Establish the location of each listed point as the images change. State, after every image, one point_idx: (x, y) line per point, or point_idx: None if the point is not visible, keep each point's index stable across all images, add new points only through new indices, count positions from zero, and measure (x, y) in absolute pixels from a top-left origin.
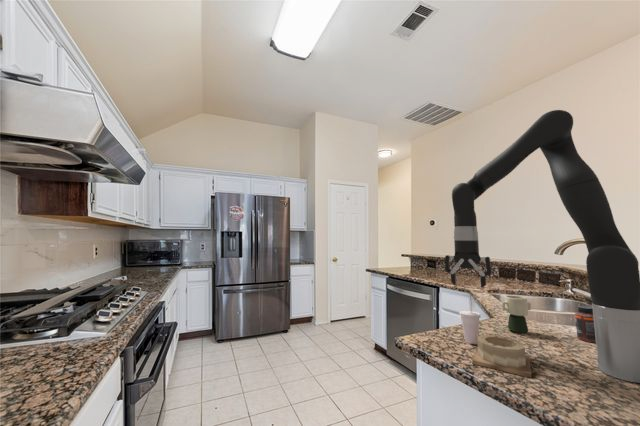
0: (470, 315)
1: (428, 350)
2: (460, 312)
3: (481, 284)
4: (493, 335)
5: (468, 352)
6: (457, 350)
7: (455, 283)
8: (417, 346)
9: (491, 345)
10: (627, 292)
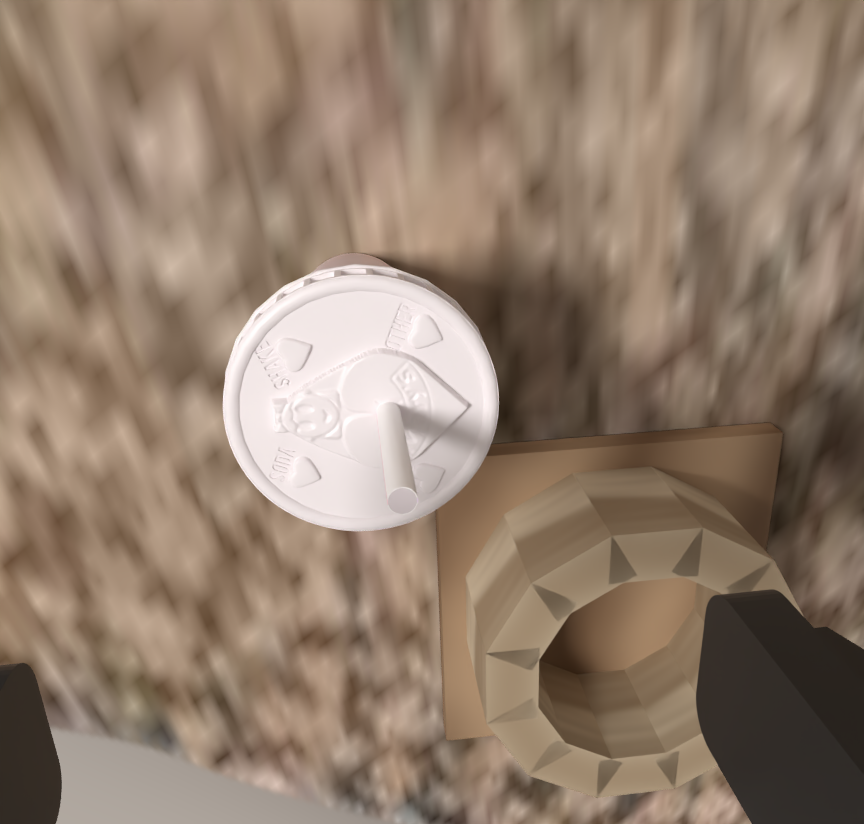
0: (396, 525)
1: (137, 710)
2: (252, 475)
3: (747, 783)
4: (598, 555)
5: (385, 562)
6: (307, 577)
7: (44, 805)
8: None
9: (589, 785)
10: None
